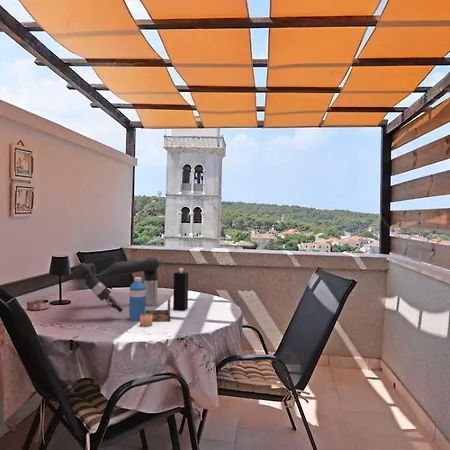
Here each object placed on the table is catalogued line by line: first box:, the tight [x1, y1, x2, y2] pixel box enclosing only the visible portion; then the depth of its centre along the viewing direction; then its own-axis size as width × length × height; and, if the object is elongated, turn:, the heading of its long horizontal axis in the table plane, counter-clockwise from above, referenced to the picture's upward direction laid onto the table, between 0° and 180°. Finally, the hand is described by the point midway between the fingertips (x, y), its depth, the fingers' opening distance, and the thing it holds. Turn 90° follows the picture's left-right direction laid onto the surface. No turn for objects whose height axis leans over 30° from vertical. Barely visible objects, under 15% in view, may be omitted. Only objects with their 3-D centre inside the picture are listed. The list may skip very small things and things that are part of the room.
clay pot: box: [139, 312, 153, 328], centre depth 244 cm, size 7×7×6 cm
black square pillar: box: [172, 267, 189, 312], centre depth 286 cm, size 8×8×28 cm
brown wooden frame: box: [145, 294, 172, 323], centre depth 260 cm, size 15×15×13 cm
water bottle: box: [128, 276, 146, 322], centre depth 258 cm, size 9×9×25 cm
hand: (121, 311), depth 256 cm, fingers closed
